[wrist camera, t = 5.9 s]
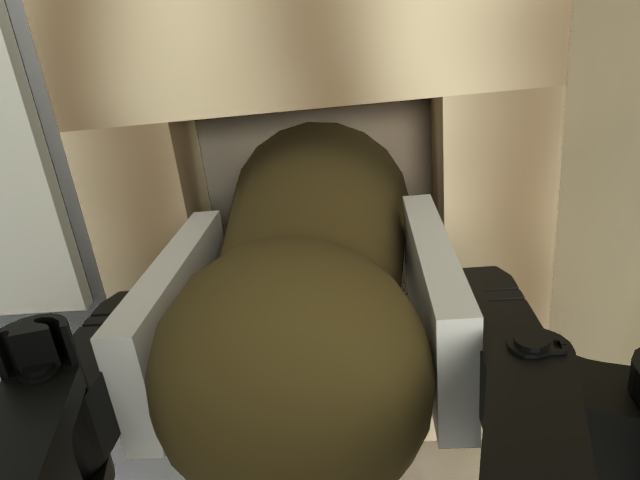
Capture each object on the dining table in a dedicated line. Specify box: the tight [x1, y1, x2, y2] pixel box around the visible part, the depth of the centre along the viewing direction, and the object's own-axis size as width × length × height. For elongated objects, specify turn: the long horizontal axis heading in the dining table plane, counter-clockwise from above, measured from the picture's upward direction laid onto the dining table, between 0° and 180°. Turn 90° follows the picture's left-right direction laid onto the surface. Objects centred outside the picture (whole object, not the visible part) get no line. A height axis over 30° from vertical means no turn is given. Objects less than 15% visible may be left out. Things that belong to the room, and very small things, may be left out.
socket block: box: [22, 0, 573, 441], centre depth 17 cm, size 14×16×2 cm
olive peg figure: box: [145, 122, 436, 480], centre depth 13 cm, size 6×6×11 cm
